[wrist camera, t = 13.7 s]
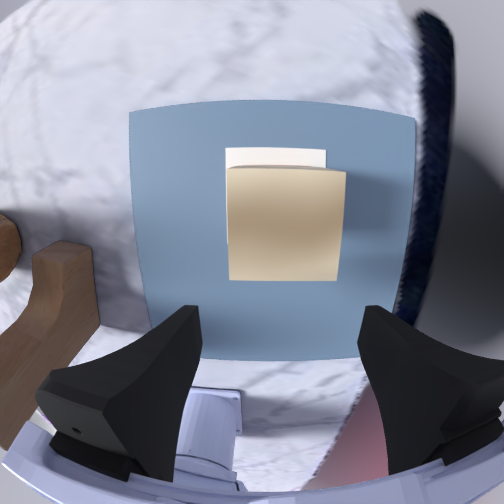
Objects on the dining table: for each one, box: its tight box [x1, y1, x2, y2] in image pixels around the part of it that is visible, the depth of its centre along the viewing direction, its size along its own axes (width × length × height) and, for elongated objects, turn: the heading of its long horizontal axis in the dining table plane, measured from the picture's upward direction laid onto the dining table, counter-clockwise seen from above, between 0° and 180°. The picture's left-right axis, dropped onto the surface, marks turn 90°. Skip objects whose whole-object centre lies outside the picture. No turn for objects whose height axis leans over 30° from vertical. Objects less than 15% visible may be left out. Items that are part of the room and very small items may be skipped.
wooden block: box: [0, 240, 100, 451], centre depth 15 cm, size 9×4×18 cm, turn 171°
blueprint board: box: [129, 100, 415, 361], centre depth 21 cm, size 22×22×1 cm
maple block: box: [226, 165, 346, 281], centre depth 13 cm, size 4×4×4 cm
